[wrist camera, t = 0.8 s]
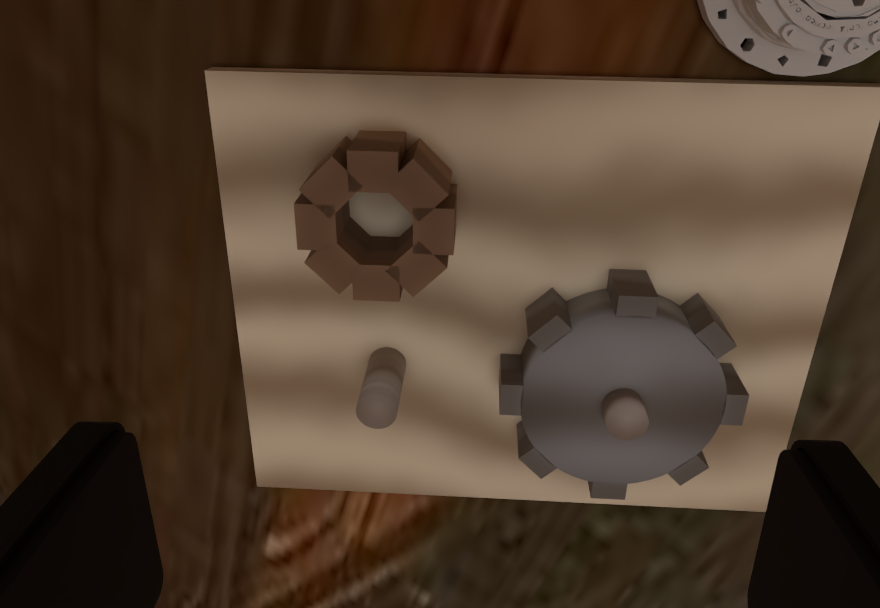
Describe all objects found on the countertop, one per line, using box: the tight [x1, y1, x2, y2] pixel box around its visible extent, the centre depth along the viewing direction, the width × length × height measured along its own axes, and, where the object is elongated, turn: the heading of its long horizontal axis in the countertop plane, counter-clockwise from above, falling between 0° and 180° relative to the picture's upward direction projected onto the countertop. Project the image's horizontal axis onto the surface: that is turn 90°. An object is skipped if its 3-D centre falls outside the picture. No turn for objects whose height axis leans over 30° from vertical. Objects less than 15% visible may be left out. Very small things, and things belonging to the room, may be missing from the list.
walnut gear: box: [294, 130, 457, 302], centre depth 34 cm, size 7×7×4 cm
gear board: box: [205, 67, 880, 512], centre depth 36 cm, size 24×30×6 cm
